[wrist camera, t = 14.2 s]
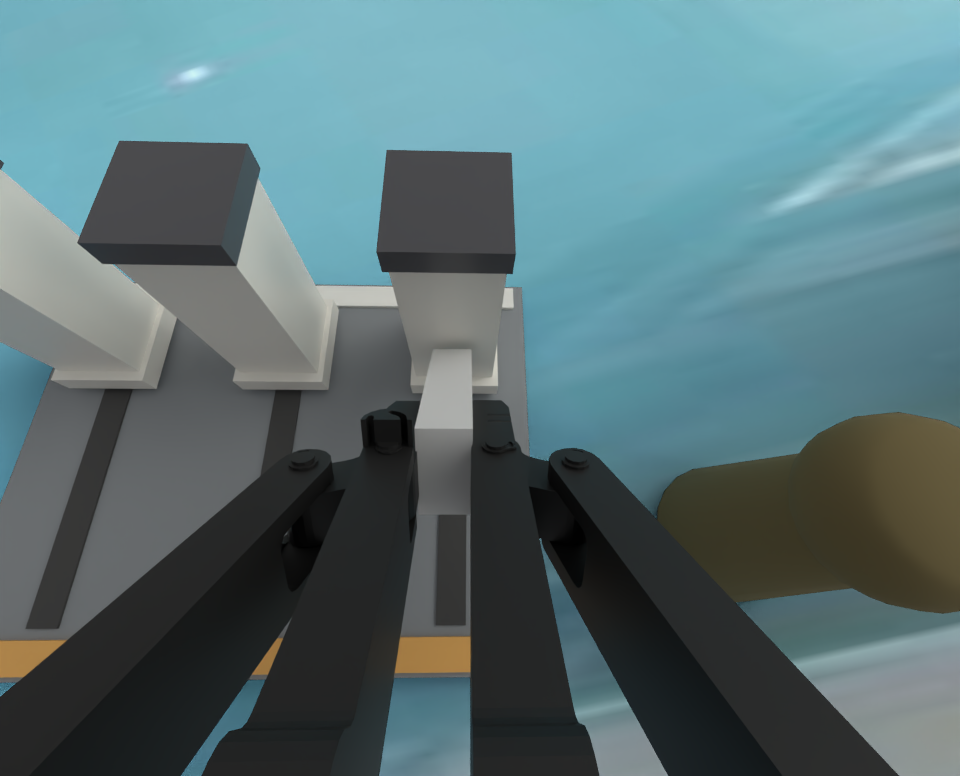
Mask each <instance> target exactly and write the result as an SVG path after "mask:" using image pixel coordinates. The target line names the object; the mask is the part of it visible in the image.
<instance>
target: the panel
mask: <svg viewBox="0 0 960 776" xmlns="http://www.w3.org/2000/svg"><path fill="white" fill-rule="evenodd" d="M133 283H134V284H136V285H137V286H138V287H139V288H140V289H142V290H143V291H144V292H145V293H146V294H147V295H149V296H150V297H152V296H151V295H150V294H149V293H147V292H146V291H145V290H144V289H143V288H142V287H140V286H139V285H138V284H137V283H136V282H133ZM316 287H317V289H318V291H319V293H320V294H321V296H322V298H323V299H334V301H335V303H336V305H337V307H338V309H339V313H338V321H337V328H336V336H335V344H334V351H333V359H332V366H331V374H330V382H329V389H328V390H251V389H242V388H240V387H239V386H238V385H237V384H235V383H234V382H233V377H234V373H235V367H234V366H232V365H231V364H230V363H229V362H228V361H227V360H225V359H224V358H223V357H222V356H221V355H220V354H218V353H217V352H216V351H215V350H214V349H213V348H211V347H210V346H209V345H208V344H207V343H206V342H204V341H203V340H202V339H201V338H200V337H199V336H197V335H196V334H195V333H194V332H193V331H192V330H190V329H189V328H188V327H187V326H186V325H185V324H183V323H182V322H181V321H180V320H179V319H178V318H177V319H176V323H175V326H174V330H173V333H172V337H171V340H170V344H169V347H168V351H167V354H166V358H165V361H164V365H163V368H162V372H161V375H160V379H159V382H158V386H157V389H101V388H68V387H65V386H63V385H61V384H59V383H56V382H54V381H52V380H51V378H52V375H53V373H54V370H55V368H53V369H52V371H51V374H50V377H49V379H48V382H47V384H46V387H45V389H44V392H43V395H42V397H41V400H40V402H39V405H38V408H37V410H36V413H35V415H34V418H33V420H32V423H31V426H30V428H29V431H28V433H27V436H26V438H25V441H24V444H23V446H22V449H21V451H20V454H19V457H18V459H17V462H16V464H15V467H14V469H13V472H12V475H11V477H10V480H9V482H8V485H7V487H6V490H5V493H4V495H3V498H2V500H1V503H0V683H3V682H18V681H20V680H21V679H22V678H23V677H24V676H25V675H27V674H28V673H29V672H30V671H31V670H33V669H34V668H35V667H36V666H37V665H38V664H40V663H41V662H42V661H43V660H44V659H45V658H47V657H48V656H49V655H50V654H51V653H53V652H54V651H55V650H56V649H57V648H58V647H60V646H61V645H62V644H63V643H64V642H66V641H67V640H68V639H69V638H70V637H71V636H73V635H74V634H75V633H76V632H77V631H78V630H80V629H81V628H82V627H83V626H84V625H86V624H87V623H88V622H89V621H90V620H91V619H93V618H94V617H95V616H96V615H97V614H98V613H100V612H101V611H102V610H103V609H104V608H106V607H107V606H108V605H109V604H110V603H111V602H113V601H114V600H115V599H116V598H117V597H119V596H120V595H121V594H122V593H123V592H124V591H126V590H127V589H128V588H129V587H130V586H131V585H133V584H134V583H135V582H136V581H137V580H139V579H140V578H141V577H142V576H143V575H144V574H146V573H147V572H148V571H149V570H150V569H151V568H153V567H154V566H155V565H156V564H157V563H159V562H160V561H161V560H162V559H163V558H164V557H166V556H167V555H168V554H169V553H170V552H172V551H173V550H174V549H175V548H176V547H177V546H179V545H180V544H181V543H182V542H183V541H184V540H186V539H187V538H188V537H189V536H190V535H192V534H193V533H194V532H195V531H196V530H197V529H199V528H200V527H201V526H202V525H203V524H204V523H206V522H207V521H208V520H209V519H210V518H212V517H213V516H214V515H215V514H216V513H217V512H219V511H220V510H221V509H222V508H223V507H225V506H226V505H227V504H228V503H229V502H230V501H232V500H233V499H234V498H235V497H236V496H237V495H239V494H240V493H241V492H242V491H243V490H245V489H246V488H247V487H248V486H249V485H250V484H252V483H253V482H254V481H255V480H256V479H257V478H259V477H260V476H261V475H262V474H263V473H265V472H266V471H267V470H268V469H269V468H270V467H272V466H273V465H274V464H275V463H276V462H278V461H279V460H280V459H281V458H283V457H285V456H286V455H288V454H290V453H293V452H296V451H298V450H302V449H303V450H304V449H319V450H323V451H326V452H327V453H328V454H330V455H331V461H332V463H334V462H340V461H346V460H350V459H354V458H356V457H359V456H360V454H361V451H362V449H363V441H362V431H361V421H360V419H361V418H362V417H363V416H364V415H366V414H368V413H370V412H372V411H376V410H380V409H387V408H388V407H389V406H390V405H391V404H393V403H394V402H395V401H421V398H422V394H423V393H413V392H412V389H411V386H410V382H411V365H412V358H411V354H410V350H409V347H408V343H407V339H406V335H405V331H404V328H403V324H402V320H401V316H400V312H399V309H398V305H397V301H396V297H395V293H394V289H393V286H377V285H316ZM497 363H498V389H497V394H472V400H502V401H503V402H504V403H505V404H506V405H507V406H508V407H509V411H510V416H511V422H512V427H513V432H514V437H515V441H516V442H518V444H519V445H520V447H521V451H522V453H524V454H525V455H527V456H529V435H528V413H527V392H526V370H525V349H524V327H523V305H522V287H505V289H504V296H503V304H502V311H501V318H500V325H499V333H498V340H497ZM416 514H417V531H416V537H415V544H414V550H413V557H412V563H411V570H410V576H409V583H408V589H407V596H406V603H405V609H404V616H403V622H402V629H401V635H400V642H399V648H398V655H397V661H396V668H395V674H394V678H435V677H470V516H471V515H418V505H417V511H416ZM286 534H287V533H286ZM286 534H285V535H286ZM290 621H291V619H290ZM290 621H289V622H288V624H287V625H286V626H285V628H284V629H283V631H282V632H281V634H280V635H279V636H278V638H277V639H276V641H275V642H274V644H273V645H272V646H271V648H270V649H269V651H268V652H267V654H266V655H265V656H264V658H263V659H262V661H261V662H260V663H259V665H258V666H257V668H256V669H255V671H254V672H253V673H252V675H251V676H250V678H249V679H248V680H262V679H266V678H267V676H268V673H269V671H270V668H271V666H272V664H273V661H274V659H275V656H276V654H277V652H278V649H279V647H280V645H281V642H282V640H283V637H284V635H285V633H286V630H287V628H288V625H289V623H290Z"/></svg>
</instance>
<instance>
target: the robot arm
mask: <svg viewBox="0 0 960 776" xmlns="http://www.w3.org/2000/svg"><path fill="white" fill-rule="evenodd" d="M360 421H361V431H362V441H363V449H362V451H361V454H360V456H359V457H356V458H354V459H350V460H346V461H340V462H334V463H332V461H331V455H330V454H328V453H327V452H326V451H323V450H319V449H304V450H303V449H302V450H298V451H296V452H293V453H290V454H288V455H286V456H285V457H283V458H281V459H280V460H279V461H278V462H276V463H275V464H274V465H273V466H272V467H270V468H269V469H268V470H267V471H266V472H265V473H263V474H262V475H261V476H260V477H259V478H257V479H256V480H255V481H254V482H253V483H252V484H250V485H249V486H248V487H247V488H246V489H245V490H243V491H242V492H241V493H240V494H239V495H237V496H236V497H235V498H234V499H233V500H232V501H230V502H229V503H228V504H227V505H226V506H225V507H223V508H222V509H221V510H220V511H219V512H217V513H216V514H215V515H214V516H213V517H212V518H210V519H209V520H208V521H207V522H206V523H204V524H203V525H202V526H201V527H200V528H199V529H197V530H196V531H195V532H194V533H193V534H192V535H190V536H189V537H188V538H187V539H186V540H184V541H183V542H182V543H181V544H180V545H179V546H177V547H176V548H175V549H174V550H173V551H172V552H170V553H169V554H168V555H167V556H166V557H164V558H163V559H162V560H161V561H160V562H159V563H157V564H156V565H155V566H154V567H153V568H151V569H150V570H149V571H148V572H147V573H146V574H144V575H143V576H142V577H141V578H140V579H139V580H137V581H136V582H135V583H134V584H133V585H131V586H130V587H129V588H128V589H127V590H126V591H124V592H123V593H122V594H121V595H120V596H119V597H117V598H116V599H115V600H114V601H113V602H111V603H110V604H109V605H108V606H107V607H106V608H104V609H103V610H102V611H101V612H100V613H98V614H97V615H96V616H95V617H94V618H93V619H91V620H90V621H89V622H88V623H87V624H86V625H84V626H83V627H82V628H81V629H80V630H78V631H77V632H76V633H75V634H74V635H73V636H71V637H70V638H69V639H68V640H67V641H66V642H64V643H63V644H62V645H61V646H60V647H58V648H57V649H56V650H55V651H54V652H53V653H51V654H50V655H49V656H48V657H47V658H45V659H44V660H43V661H42V662H41V663H40V664H38V665H37V666H36V667H35V668H34V669H33V670H31V671H30V672H29V673H28V674H27V675H25V676H24V677H23V678H22V679H21V680H20V681H18V682H17V683H16V684H15V685H14V686H13V687H11V688H10V689H9V690H8V691H7V692H5V693H4V694H3V695H2V696H1V697H0V776H181V774H182V773H183V772H184V770H185V769H186V767H187V766H188V765H189V763H190V762H191V760H192V759H193V757H194V756H195V755H196V753H197V752H198V750H199V749H200V747H201V746H202V745H203V743H204V742H205V740H206V739H207V737H208V736H209V735H210V733H211V732H212V730H213V729H214V728H215V726H216V725H217V723H218V722H219V720H220V719H221V718H222V716H223V715H224V713H225V712H226V710H227V709H228V708H229V706H230V705H231V703H232V702H233V700H234V699H235V698H236V696H237V695H238V693H239V692H240V691H241V689H242V688H243V686H244V685H245V683H246V682H247V681H248V679H249V678H250V676H251V675H252V673H253V672H254V671H255V669H256V668H257V666H258V665H259V663H260V662H261V661H262V659H263V658H264V656H265V655H266V654H267V652H268V651H269V649H270V648H271V646H272V645H273V644H274V642H275V641H276V639H277V638H278V636H279V635H280V634H281V632H282V631H283V629H284V628H285V626H286V625H287V624H288V622H289V621H290V619H291V621H290V623H289V625H288V628H287V630H286V633H285V635H284V637H283V640H282V642H281V645H280V647H279V649H278V652H277V654H276V656H275V659H274V661H273V664H272V666H271V668H270V671H269V673H268V676H267V678H266V680H265V683H264V685H263V687H262V690H261V692H260V695H259V697H258V699H257V702H256V704H255V707H254V709H253V711H252V713H251V715H250V717H249V719H248V721H247V723H246V724H245V725H244V726H243V727H242V728H241V729H237V730H232V731H229V732H228V733H227V734H226V735H225V736H224V737H223V738H222V740H221V741H220V742H219V743H218V745H217V747H216V748H215V750H214V752H213V754H212V756H211V757H210V759H209V761H208V763H207V765H206V767H205V770H204V772H203V774H202V776H379V772H380V765H381V759H382V752H383V746H384V739H385V733H386V726H387V720H388V713H389V707H390V700H391V694H392V687H393V681H394V674H395V668H396V661H397V655H398V648H399V642H400V635H401V629H402V622H403V616H404V609H405V603H406V596H407V589H408V583H409V576H410V570H411V563H412V557H413V550H414V544H415V537H416V531H417V514H416V511H417V505H418V515H471V516H470V776H599V772H598V768H597V763H596V759H595V754H594V751H593V747H592V743H591V740H590V736H589V734H588V732H587V730H586V727H585V726H584V725H582V724H580V723H578V721H577V718H576V716H575V712H574V708H573V703H572V698H571V693H570V688H569V683H568V678H567V673H566V668H565V663H564V658H563V653H562V649H561V644H560V639H559V634H558V629H557V624H556V619H555V614H554V609H553V604H552V599H551V594H550V589H549V584H548V579H547V575H546V570H545V565H544V560H543V555H542V550H541V545H540V540H539V538H541V539H542V544H543V548H544V549H545V551H546V553H547V555H548V557H549V559H550V560H551V562H552V564H553V566H554V568H555V570H556V571H557V573H558V575H559V577H560V579H561V581H562V582H563V584H564V586H565V588H566V590H567V591H568V593H569V595H570V597H571V599H572V601H573V602H574V604H575V606H576V608H577V610H578V612H579V613H580V615H581V617H582V619H583V621H584V623H585V624H586V626H587V628H588V630H589V632H590V634H591V635H592V637H593V639H594V641H595V643H596V644H597V646H598V648H599V650H600V652H601V654H602V655H603V657H604V659H605V661H606V663H607V665H608V666H609V668H610V670H611V672H612V674H613V676H614V677H615V679H616V681H617V683H618V685H619V687H620V688H621V690H622V692H623V694H624V696H625V697H626V699H627V701H628V703H629V705H630V707H631V708H632V710H633V712H634V714H635V716H636V718H637V719H638V721H639V723H640V725H641V727H642V729H643V730H644V732H645V734H646V736H647V738H648V739H649V741H650V743H651V745H652V747H653V749H654V750H655V752H656V754H657V756H658V758H659V760H660V761H661V763H662V765H663V767H664V769H665V771H666V772H667V774H668V776H899V775H898V774H897V773H896V772H895V771H894V770H893V769H892V768H891V767H890V766H889V765H888V764H887V763H886V762H885V761H884V759H883V758H882V757H881V756H880V755H879V754H878V753H877V752H876V751H875V750H874V749H873V748H872V747H871V746H870V745H869V744H868V743H867V741H866V740H865V739H864V738H863V737H862V736H861V735H860V734H859V733H858V732H857V731H856V730H855V729H854V728H853V727H852V726H851V725H850V723H849V722H848V721H847V720H846V719H845V718H844V717H843V716H842V715H841V714H840V713H839V712H838V711H837V710H836V709H835V708H834V707H833V705H832V704H831V703H830V702H829V701H828V700H827V699H826V698H825V697H824V696H823V695H822V694H821V693H820V692H819V691H818V690H817V689H816V688H815V686H814V685H813V684H812V683H811V682H810V681H809V680H808V679H807V678H806V677H805V676H804V675H803V674H802V673H801V672H800V671H799V670H798V668H797V667H796V666H795V665H794V664H793V663H792V662H791V661H790V660H789V659H788V658H787V657H786V656H785V655H784V654H783V653H782V652H781V650H780V649H779V648H778V647H777V646H776V645H775V644H774V643H773V642H772V641H771V640H770V639H769V638H768V637H767V636H766V635H765V634H764V632H763V631H762V630H761V629H760V628H759V627H758V626H757V625H756V624H755V623H754V622H753V621H752V620H751V619H750V618H749V617H748V616H747V614H746V613H745V612H744V611H743V610H742V609H741V608H740V607H739V606H738V605H737V604H736V603H735V602H734V601H733V600H732V599H731V598H730V597H729V595H728V594H727V593H726V592H725V591H724V590H723V589H722V588H721V587H720V586H719V585H718V584H717V583H716V582H715V581H714V580H713V579H712V577H711V576H710V575H709V574H708V573H707V572H706V571H705V570H704V569H703V568H702V567H701V566H700V565H699V564H698V563H697V562H696V561H695V559H694V558H693V557H692V556H691V555H690V554H689V553H688V552H687V551H686V550H685V549H684V548H683V547H682V546H681V545H680V544H679V543H678V541H677V540H676V539H675V538H674V537H673V536H672V535H671V534H670V533H669V532H668V531H667V530H666V529H665V528H664V527H663V526H662V525H661V523H660V522H659V521H658V520H657V519H656V518H655V517H654V516H653V515H652V514H651V513H650V512H649V511H648V510H647V509H646V508H645V507H644V506H643V504H642V503H641V502H640V501H639V500H638V499H637V498H636V497H635V496H634V495H633V494H632V493H631V492H630V491H629V490H628V489H627V488H626V486H625V485H624V484H623V483H622V482H621V481H620V480H619V479H618V478H617V477H616V476H615V475H614V474H613V473H612V472H611V471H610V470H609V468H608V467H607V466H606V465H605V464H604V463H603V462H602V461H601V460H600V459H599V458H598V457H596V456H595V455H594V454H592V453H590V452H587V451H585V450H582V449H577V448H567V449H561V450H557V451H555V452H554V453H552V454H551V456H550V458H549V461H544V460H539V459H535V458H532V457H529V456H527V455H525V454H524V453H522V451H521V447H520V445H519V444H518V442H516V441H515V437H514V432H513V427H512V422H511V416H510V411H509V407H508V406H507V405H506V404H505V403H504V402H503V401H502V400H472V350H471V349H433V352H432V356H431V360H430V365H429V369H428V373H427V377H426V382H425V386H424V390H423V394H422V398H421V401H395V402H394V403H393V404H391V405H390V406H389V407H388V408H387V409H380V410H376V411H372V412H370V413H368V414H366V415H364V416H363V417H362V418H361V419H360ZM286 533H287V534H286ZM285 534H286V535H285Z"/></svg>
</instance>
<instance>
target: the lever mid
mask: <svg viewBox="0 0 960 776" xmlns="http://www.w3.org/2000/svg"><path fill="white" fill-rule="evenodd" d="M259 172H260V167H259V165H258V163H257V161H256V159H255V157H254V155H253V153H252V151H251V149H250V147H249V145H248V144H239V143H193V142H148V141H119V143H118V145H117V147H116V150H115V152H114V155H113V157H112V160H111V162H110V164H109V167H108V169H107V172H106V174H105V176H104V179H103V181H102V184H101V186H100V189H99V191H98V193H97V196H96V198H95V201H94V203H93V206H92V208H91V210H90V213H89V215H88V218H87V220H86V222H85V225H84V227H83V230H82V232H81V235H80V237H79V239H78V242H77V243H78V244H79V245H80V246H81V247H83V248H84V249H85V250H86V251H87V252H89V253H90V254H91V255H92V256H93V257H95V258H96V259H97V260H98V261H99V262H101V263H102V264H115V265H116V266H117V267H118V268H119V269H121V270H122V271H123V272H124V273H125V274H126V275H128V276H129V277H130V278H131V279H132V280H133V281H135V282H136V283H137V284H138V285H139V286H140V287H142V288H143V289H144V290H145V291H146V292H147V293H149V294H150V295H151V296H152V297H153V298H154V299H156V300H157V301H158V302H159V303H160V304H161V305H163V306H164V307H165V308H166V309H167V310H168V311H170V312H171V313H172V314H173V315H174V316H175V317H177V318H178V319H179V320H180V321H181V322H182V323H183V324H185V325H186V326H187V327H188V328H189V329H190V330H192V331H193V332H194V333H195V334H196V335H197V336H199V337H200V338H201V339H202V340H203V341H204V342H206V343H207V344H208V345H209V346H210V347H211V348H213V349H214V350H215V351H216V352H217V353H218V354H220V355H221V356H222V357H223V358H224V359H225V360H227V361H228V362H229V363H230V364H231V365H232V366H234V367H235V373H234V377H233V382H234V383H235V384H237V385H238V386H239V387H240V388H242V389H251V390H328V389H329V382H330V374H331V366H332V359H333V351H334V344H335V336H336V328H337V321H338V313H339V309H338V307H337V305H336V303H335V301H334V299H323V298H322V296H321V294H320V293H319V291H318V289H317V287H316V285H315V283H314V281H313V280H312V278H311V276H310V274H309V272H308V270H307V268H306V266H305V265H304V263H303V261H302V259H301V257H300V255H299V253H298V252H297V250H296V248H295V246H294V244H293V242H292V240H291V238H290V237H289V235H288V233H287V231H286V229H285V227H284V225H283V224H282V222H281V220H280V218H279V216H278V214H277V212H276V210H275V209H274V207H273V205H272V203H271V201H270V199H269V197H268V196H267V194H266V192H265V190H264V188H263V186H262V184H261V182H260V181H259V179H258V176H259Z"/></svg>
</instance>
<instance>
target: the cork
mask: <svg viewBox="0 0 960 776" xmlns="http://www.w3.org/2000/svg"><path fill="white" fill-rule="evenodd" d="M657 520H658V521H659V522H660V523H661V525H662V526H663V527H664V528H665V529H666V530H667V531H668V532H669V533H670V534H671V535H672V536H673V537H674V538H675V539H676V540H677V541H678V543H679V544H680V545H681V546H682V547H683V548H684V549H685V550H686V551H687V552H688V553H689V554H690V555H691V556H692V557H693V558H694V559H695V561H696V562H697V563H698V564H699V565H700V566H701V567H702V568H703V569H704V570H705V571H706V572H707V573H708V574H709V575H710V576H711V577H712V579H713V580H714V581H715V582H716V583H717V584H718V585H719V586H720V587H721V588H722V589H723V590H724V591H725V592H726V593H727V594H728V595H729V597H730V598H731V599H732V600H733V601H734V602H735V603H736V602H744V601H752V600H760V599H768V598H776V597H784V596H792V595H800V594H808V593H816V592H824V591H832V590H840V589H848V588H853V589H855V590H857V591H859V592H861V593H863V594H865V595H867V596H868V597H871V598H873V599H876V600H879V601H881V602H884V603H886V604H889V605H894V606H899V607H904V608H909V609H913V610H918V611H925V612H934V613H942V614H943V613H950V612H957V611H960V428H958V427H956V426H953V425H951V424H949V423H947V422H945V421H940V420H936V419H931V418H927V417H921V416H916V415H911V414H906V413H900V412H895V413H885V414H875V415H866V416H857V417H853V418H850V419H848V420H845V421H843V422H840V423H838V424H836V425H834V426H832V427H830V428H828V429H826V430H824V431H822V432H821V433H819V434H817V435H816V436H815V437H814V438H813V439H812V440H810V441H809V442H808V443H807V444H806V446H805V447H804V448H803V449H802V450H801V452H800V453H799V454H793V455H786V456H779V457H773V458H766V459H759V460H752V461H746V462H739V463H732V464H725V465H719V466H712V467H705V468H698V469H692V470H690V471H688V472H686V473H684V474H682V475H680V476H678V477H677V478H676V479H675V480H674V481H673V482H672V483H671V484H670V485H669V486H668V488H667V489H666V490H665V491H664V494H663V496H662V499H661V501H660V504H659V506H658V515H657Z"/></svg>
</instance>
